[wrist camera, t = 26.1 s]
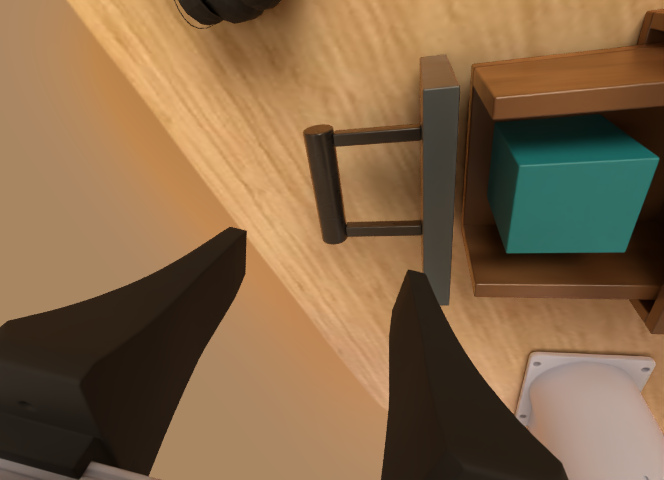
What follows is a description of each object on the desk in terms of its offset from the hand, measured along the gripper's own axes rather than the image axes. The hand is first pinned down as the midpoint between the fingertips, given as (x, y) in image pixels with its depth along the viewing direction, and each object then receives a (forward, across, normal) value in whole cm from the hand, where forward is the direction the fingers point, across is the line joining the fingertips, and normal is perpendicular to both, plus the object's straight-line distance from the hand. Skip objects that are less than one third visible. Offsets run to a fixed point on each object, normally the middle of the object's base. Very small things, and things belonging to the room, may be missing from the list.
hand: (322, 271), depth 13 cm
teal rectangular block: (+9, -9, -3) cm, 13 cm away
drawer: (+10, -7, -2) cm, 12 cm away
